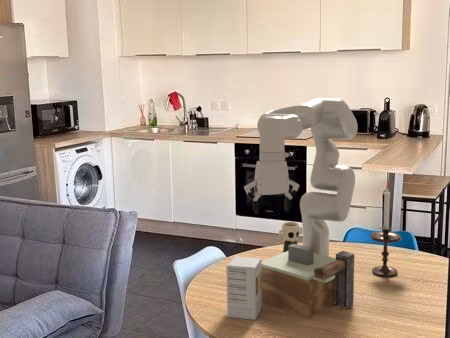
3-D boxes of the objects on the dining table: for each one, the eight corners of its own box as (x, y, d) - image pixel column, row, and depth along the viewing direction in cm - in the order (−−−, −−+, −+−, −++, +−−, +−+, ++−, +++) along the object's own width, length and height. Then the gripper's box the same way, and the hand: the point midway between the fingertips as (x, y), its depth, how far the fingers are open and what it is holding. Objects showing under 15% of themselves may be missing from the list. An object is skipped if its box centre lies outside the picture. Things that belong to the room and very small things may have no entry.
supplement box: (255, 320, 171) (255, 268, 168) (226, 317, 174) (225, 265, 171) (262, 307, 180) (261, 257, 177) (234, 305, 183) (233, 255, 180)
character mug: (283, 259, 225) (283, 228, 223) (274, 254, 232) (274, 223, 229) (306, 255, 230) (306, 224, 228) (297, 250, 236) (297, 220, 234)
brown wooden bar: (344, 262, 181) (344, 255, 181) (353, 265, 179) (353, 257, 178) (313, 277, 169) (314, 269, 169) (323, 279, 167) (323, 271, 166)
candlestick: (396, 267, 213) (399, 177, 207) (402, 278, 203) (406, 183, 196) (367, 267, 214) (369, 177, 208) (372, 277, 204) (374, 183, 197)
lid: (294, 250, 198) (294, 234, 197) (357, 267, 181) (357, 249, 180) (257, 265, 184) (257, 248, 183) (321, 284, 167) (322, 265, 166)
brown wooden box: (294, 283, 200) (294, 236, 197) (358, 302, 183) (359, 251, 180) (258, 300, 186) (257, 250, 183) (323, 323, 168) (323, 267, 165)
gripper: (295, 154, 175) (294, 207, 178) (241, 156, 172) (241, 210, 175) (303, 157, 168) (302, 213, 171) (247, 160, 165) (247, 216, 168)
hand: (271, 212), depth 173 cm, fingers open, 9 cm apart
